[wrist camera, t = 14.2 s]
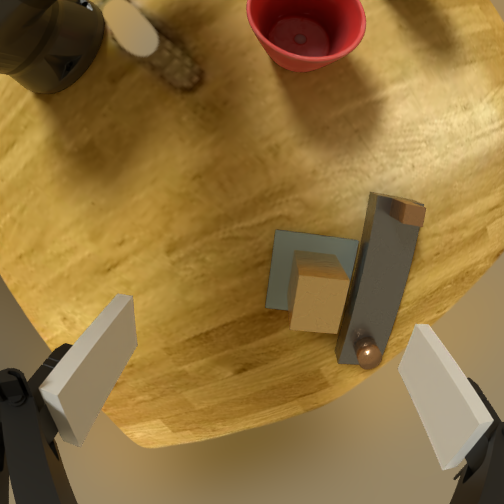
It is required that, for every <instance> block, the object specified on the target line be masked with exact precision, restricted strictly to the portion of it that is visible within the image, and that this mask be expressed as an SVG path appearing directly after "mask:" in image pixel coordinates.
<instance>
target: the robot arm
mask: <svg viewBox="0 0 504 504" xmlns="http://www.w3.org/2000/svg"><path fill="white" fill-rule="evenodd" d="M103 33H104V19H103V15H102V12H101V11H100V9H99V8H98V7H97V6H96V5H95V4H94V3H92V2H91V1H89V0H0V74H6V75H9V76H11V77H12V78H13V79H15V80H16V81H17V82H18V83H20V84H21V85H22V86H24V87H25V88H26V89H28V90H30V91H32V92H37V93H43V94H51V93H56V92H59V91H61V90H63V89H65V88H67V87H68V86H70V85H71V84H72V83H74V82H75V81H76V80H77V79H78V78H79V77H80V76H81V75H82V74H83V73H84V72H85V71H86V69H87V68H88V67H89V65H90V64H91V62H92V61H93V59H94V58H95V56H96V54H97V52H98V50H99V47H100V45H101V41H102V38H103ZM137 345H138V344H137V336H136V326H135V316H134V304H133V296H129V295H123V294H117V295H116V296H115V297H114V298H113V300H112V301H111V302H110V303H109V304H108V305H107V306H106V307H105V309H104V310H103V311H102V312H101V313H100V314H99V315H98V317H97V318H96V319H95V320H94V321H93V322H92V323H91V325H90V326H89V327H88V328H87V329H86V330H85V332H84V333H83V334H82V335H81V336H80V337H79V339H78V340H77V341H76V342H75V343H74V345H70V344H67V343H65V344H63V345H61V346H60V347H58V348H56V349H55V350H54V351H53V352H52V353H51V355H50V356H49V358H48V359H46V360H45V362H44V363H43V365H41V366H40V367H39V369H38V370H37V371H36V372H35V373H34V375H33V376H32V377H31V378H30V379H29V381H28V382H27V381H26V378H25V376H24V373H22V372H21V371H20V370H18V369H15V368H7V369H5V370H1V371H0V504H9V475H10V480H11V485H12V489H13V494H14V497H15V501H16V504H77V501H76V499H75V496H74V494H73V491H72V489H71V486H70V483H69V480H68V478H67V475H66V472H65V469H64V466H63V463H62V460H61V457H60V453H59V450H58V447H57V443H56V441H55V439H54V437H55V436H56V434H57V432H59V433H60V436H61V437H62V439H63V441H66V442H68V443H70V444H73V445H75V446H78V447H81V446H82V444H83V442H84V440H85V438H86V436H87V434H88V432H89V431H90V429H91V427H92V425H93V423H94V421H95V419H96V418H97V416H98V414H99V412H100V410H101V408H102V407H103V405H104V403H105V401H106V399H107V398H108V396H109V394H110V392H111V390H112V389H113V387H114V385H115V383H116V382H117V380H118V378H119V376H120V375H121V373H122V371H123V369H124V368H125V366H126V364H127V362H128V361H129V359H130V357H131V355H132V354H133V352H134V350H135V349H136V347H137ZM398 371H399V373H400V375H401V377H402V379H403V381H404V383H405V385H406V387H407V390H408V392H409V394H410V396H411V398H412V400H413V403H414V405H415V407H416V409H417V412H418V414H419V416H420V418H421V421H422V423H423V425H424V427H425V430H426V432H427V434H428V437H429V439H430V441H431V444H432V446H433V449H434V451H435V454H436V456H437V459H438V461H439V464H440V466H441V469H442V470H445V469H449V468H453V467H457V466H458V465H459V463H460V462H461V461H462V460H463V459H464V458H465V459H466V461H467V464H466V465H465V466H464V467H463V468H462V469H461V471H459V473H458V474H457V475H456V476H455V477H454V480H456V479H457V478H458V477H459V476H460V475H461V476H460V479H459V481H458V484H457V487H456V489H455V492H454V495H453V497H452V499H451V502H450V504H504V422H501V420H500V418H499V417H498V415H497V414H496V412H495V410H494V409H493V407H492V406H491V404H490V403H489V401H487V398H486V397H485V395H484V394H483V392H482V391H481V389H480V388H479V386H478V385H477V384H476V383H475V382H473V380H471V379H470V378H466V376H465V375H464V373H463V372H462V371H461V369H460V368H459V366H458V365H457V363H456V362H455V360H454V359H453V357H452V356H451V355H450V353H449V352H448V351H447V349H446V348H445V346H444V345H443V344H442V342H441V341H440V339H439V338H438V337H437V336H436V334H435V333H434V331H433V330H432V329H431V327H430V326H429V325H428V324H415V327H414V330H413V332H412V335H411V338H410V340H409V343H408V345H407V348H406V350H405V353H404V355H403V357H402V360H401V362H400V365H399V367H398Z"/></svg>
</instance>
